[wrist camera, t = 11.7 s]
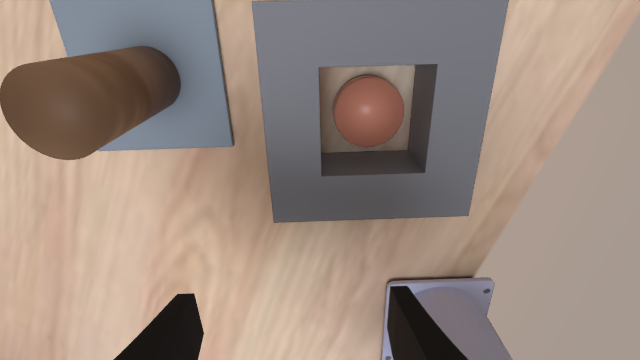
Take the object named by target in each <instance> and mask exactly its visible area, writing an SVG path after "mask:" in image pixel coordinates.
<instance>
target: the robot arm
mask: <svg viewBox="0 0 640 360" xmlns="http://www.w3.org/2000/svg"><path fill="white" fill-rule="evenodd" d="M485 289H486V290H485ZM493 289H494V282H493V281H492V279H491V278H461V279H433V280H406V281H391V282H389V283H388V284H387V290H386V303H385V317H384V330H383V343H382V356H381V360H512V358H511V357H510V355H509V353H508V351H507V350H506V348H505V346H504V345H503V343H502V341H501V339H500V338H499V336H498V334H497V333H496V331H495V329H494V328H493V326H492V324H491V323H490V321H489V319H488V318H487V312H488V308H489V304H490V301H491V297H492V293H493ZM203 335H204V332H203V328H202V324H201V320H200V316H199V312H198V307H197V303H196V299H195V295H194V294H177V295H176V296H175V297H174V298H173V299H172V300H171V301H170V302H169V303H168V305H167V306H166V307H165V308H164V309H163V310H162V311H161V312H160V313H159V314H158V315H157V316H156V317H155V318H154V320H153V321H152V322H151V323H150V324H149V325H148V326H147V327H146V328H145V329H144V330H143V331H142V332H141V333H140V334H139V335H138V336H137V337H136V338H135V339H134V340H133V341H132V342H131V343H130V344H129V345H128V346H127V347H126V348H125V349H124V350H123V351H122V352H121V353H120V354H119V355H118V356H117V357H116V358H115V359H114V360H198V356H199V352H200V348H201V344H202V339H203Z"/></svg>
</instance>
